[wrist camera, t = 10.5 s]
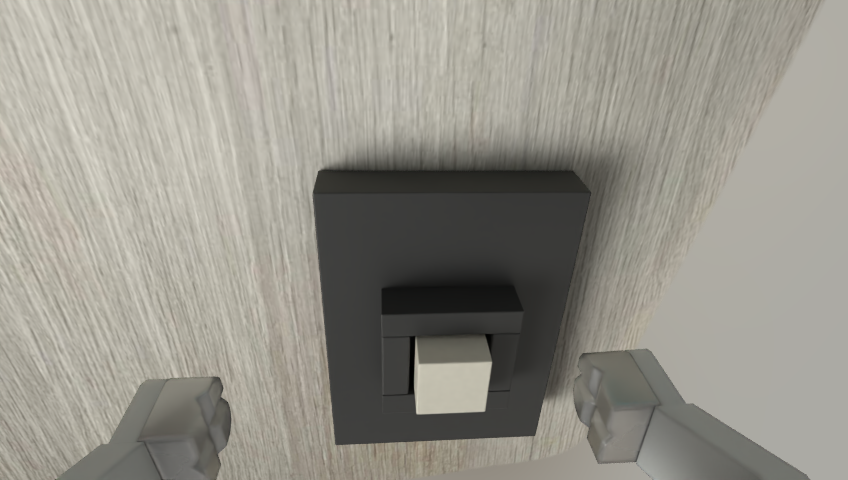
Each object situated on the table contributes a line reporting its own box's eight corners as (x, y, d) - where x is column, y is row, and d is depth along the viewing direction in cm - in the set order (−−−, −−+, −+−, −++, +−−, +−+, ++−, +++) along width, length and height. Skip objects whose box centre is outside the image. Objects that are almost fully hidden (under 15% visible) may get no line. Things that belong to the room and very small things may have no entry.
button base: (573, 170, 22) (609, 213, 18) (525, 404, 29) (544, 465, 26) (318, 170, 21) (306, 215, 17) (338, 412, 29) (332, 476, 25)
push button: (484, 332, 21) (492, 361, 20) (478, 381, 23) (485, 412, 21) (415, 334, 21) (418, 364, 20) (413, 384, 23) (416, 415, 21)
